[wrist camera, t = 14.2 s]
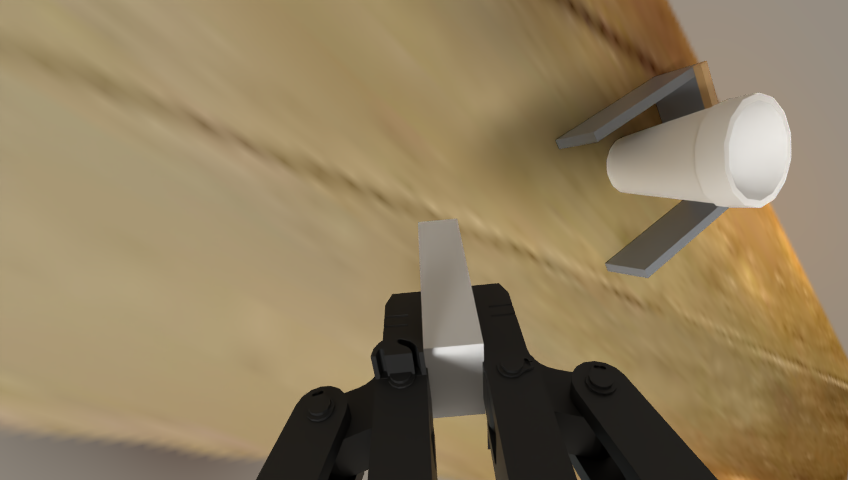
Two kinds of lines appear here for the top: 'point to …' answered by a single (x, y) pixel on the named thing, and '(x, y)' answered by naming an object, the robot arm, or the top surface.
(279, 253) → the top surface
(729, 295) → the top surface
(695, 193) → the foam cup
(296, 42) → the top surface
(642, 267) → the box
